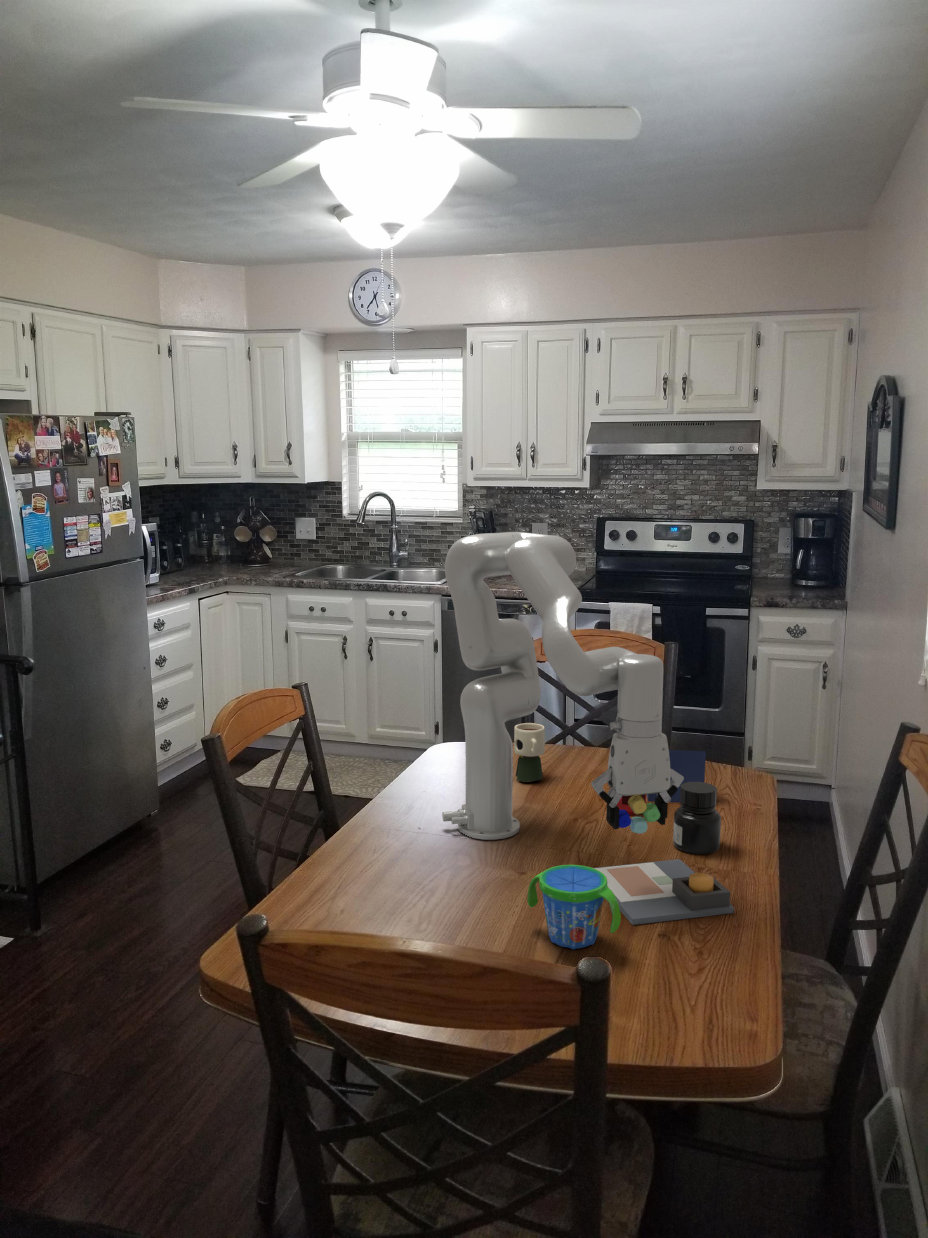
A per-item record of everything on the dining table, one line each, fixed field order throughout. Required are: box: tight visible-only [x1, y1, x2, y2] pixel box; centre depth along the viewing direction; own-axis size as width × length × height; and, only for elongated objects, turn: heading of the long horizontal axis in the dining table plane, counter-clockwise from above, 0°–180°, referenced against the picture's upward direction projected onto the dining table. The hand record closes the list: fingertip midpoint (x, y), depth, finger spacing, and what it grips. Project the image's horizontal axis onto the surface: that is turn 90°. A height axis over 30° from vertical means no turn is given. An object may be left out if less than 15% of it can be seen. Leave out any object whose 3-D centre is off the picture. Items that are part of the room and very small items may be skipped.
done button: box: [689, 872, 715, 893], centre depth 160 cm, size 4×4×2 cm
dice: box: [619, 795, 660, 834], centre depth 165 cm, size 8×3×6 cm, turn 98°
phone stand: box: [646, 749, 707, 804], centre depth 214 cm, size 12×12×12 cm
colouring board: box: [593, 858, 735, 926], centre depth 165 cm, size 18×20×4 cm
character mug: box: [513, 722, 546, 783], centre depth 222 cm, size 11×7×13 cm, turn 10°
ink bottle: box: [672, 781, 722, 855], centre depth 184 cm, size 10×9×12 cm
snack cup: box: [526, 864, 622, 950], centre depth 148 cm, size 16×10×10 cm
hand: (636, 824), depth 165 cm, fingers closed on dice, 8 cm apart
